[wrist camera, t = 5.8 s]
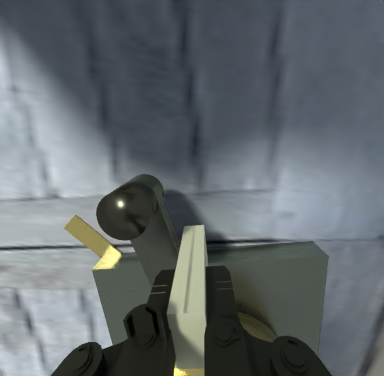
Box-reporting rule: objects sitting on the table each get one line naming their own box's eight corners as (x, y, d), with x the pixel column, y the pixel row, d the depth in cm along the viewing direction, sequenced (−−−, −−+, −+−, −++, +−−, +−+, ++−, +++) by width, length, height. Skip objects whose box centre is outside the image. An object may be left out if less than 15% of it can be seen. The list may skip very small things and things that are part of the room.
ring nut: (60, 199, 13) (-31, 241, 8) (229, 146, 12) (252, 154, 7) (173, 414, 19) (163, 520, 14) (294, 395, 18) (335, 505, 12)
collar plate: (62, 216, 16) (43, 227, 14) (316, 196, 15) (334, 205, 13) (117, 402, 22) (110, 428, 20) (299, 400, 21) (309, 427, 19)
